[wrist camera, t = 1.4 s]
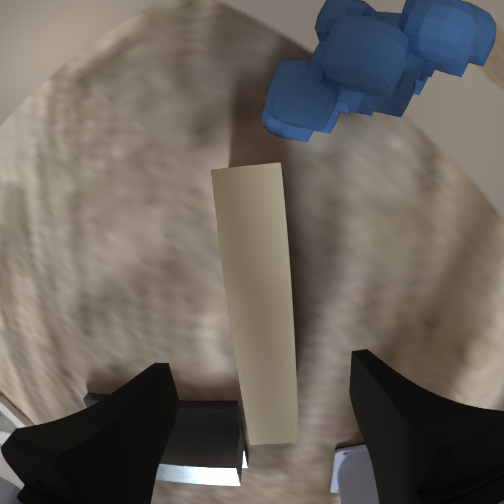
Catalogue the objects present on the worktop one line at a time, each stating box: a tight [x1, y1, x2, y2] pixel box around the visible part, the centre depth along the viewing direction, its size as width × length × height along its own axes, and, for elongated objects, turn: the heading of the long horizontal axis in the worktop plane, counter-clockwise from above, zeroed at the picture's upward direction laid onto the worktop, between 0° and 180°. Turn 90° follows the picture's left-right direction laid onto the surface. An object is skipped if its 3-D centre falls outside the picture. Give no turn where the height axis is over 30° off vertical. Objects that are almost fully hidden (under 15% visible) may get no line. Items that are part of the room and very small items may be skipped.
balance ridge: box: [83, 393, 248, 485], centre depth 22 cm, size 14×8×5 cm, turn 96°
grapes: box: [261, 0, 496, 142], centre depth 11 cm, size 12×7×12 cm, turn 118°
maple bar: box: [211, 163, 298, 445], centre depth 18 cm, size 3×16×6 cm, turn 6°
